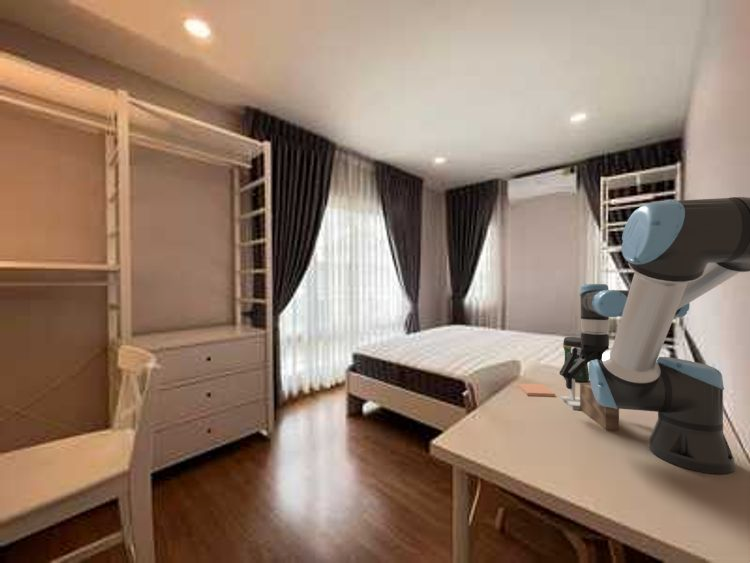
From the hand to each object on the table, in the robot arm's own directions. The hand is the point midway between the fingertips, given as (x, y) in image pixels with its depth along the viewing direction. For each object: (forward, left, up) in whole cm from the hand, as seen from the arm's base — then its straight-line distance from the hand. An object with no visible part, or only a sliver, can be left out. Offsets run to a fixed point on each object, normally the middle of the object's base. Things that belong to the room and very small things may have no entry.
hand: (595, 400), depth 107 cm
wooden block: (+3, 0, -5) cm, 6 cm away
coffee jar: (+44, -13, -5) cm, 47 cm away
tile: (+19, +10, -5) cm, 22 cm away
